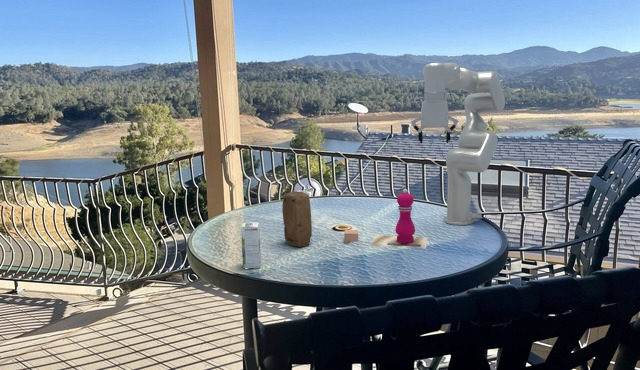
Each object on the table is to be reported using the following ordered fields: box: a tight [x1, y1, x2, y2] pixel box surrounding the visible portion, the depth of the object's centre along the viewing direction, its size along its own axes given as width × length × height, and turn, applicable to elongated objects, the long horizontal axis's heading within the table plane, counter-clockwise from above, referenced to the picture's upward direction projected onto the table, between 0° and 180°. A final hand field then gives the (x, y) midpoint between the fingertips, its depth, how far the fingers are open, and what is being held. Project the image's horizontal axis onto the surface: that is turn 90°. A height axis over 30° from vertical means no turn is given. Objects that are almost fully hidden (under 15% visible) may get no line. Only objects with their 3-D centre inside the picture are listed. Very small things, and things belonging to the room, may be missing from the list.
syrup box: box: [240, 221, 262, 269], centre depth 157 cm, size 6×6×14 cm
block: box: [281, 190, 313, 248], centre depth 178 cm, size 11×8×20 cm
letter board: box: [370, 234, 428, 249], centre depth 176 cm, size 20×13×1 cm, turn 75°
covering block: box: [343, 229, 359, 244], centre depth 180 cm, size 5×5×4 cm
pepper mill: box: [395, 188, 416, 244], centre depth 174 cm, size 7×7×20 cm
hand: (434, 142), depth 179 cm, fingers open, 9 cm apart
